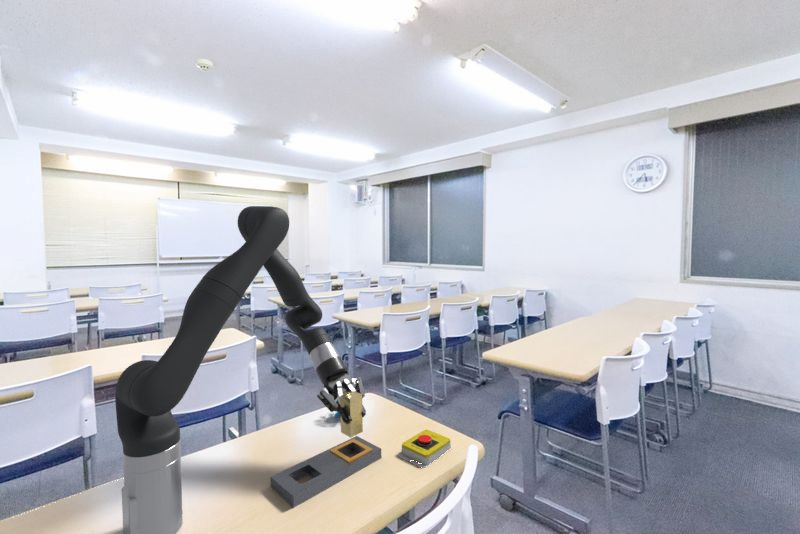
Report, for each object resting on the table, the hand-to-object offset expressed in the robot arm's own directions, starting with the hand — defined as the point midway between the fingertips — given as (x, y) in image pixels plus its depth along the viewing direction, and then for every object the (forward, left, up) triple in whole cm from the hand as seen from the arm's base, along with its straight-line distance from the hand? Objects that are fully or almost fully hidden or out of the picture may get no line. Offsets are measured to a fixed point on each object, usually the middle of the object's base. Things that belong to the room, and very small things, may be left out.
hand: (356, 419), depth 95 cm
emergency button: (+17, -10, -12) cm, 23 cm away
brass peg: (0, +2, -4) cm, 5 cm away
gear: (+15, +24, -12) cm, 30 cm away
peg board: (-7, +2, -11) cm, 14 cm away
